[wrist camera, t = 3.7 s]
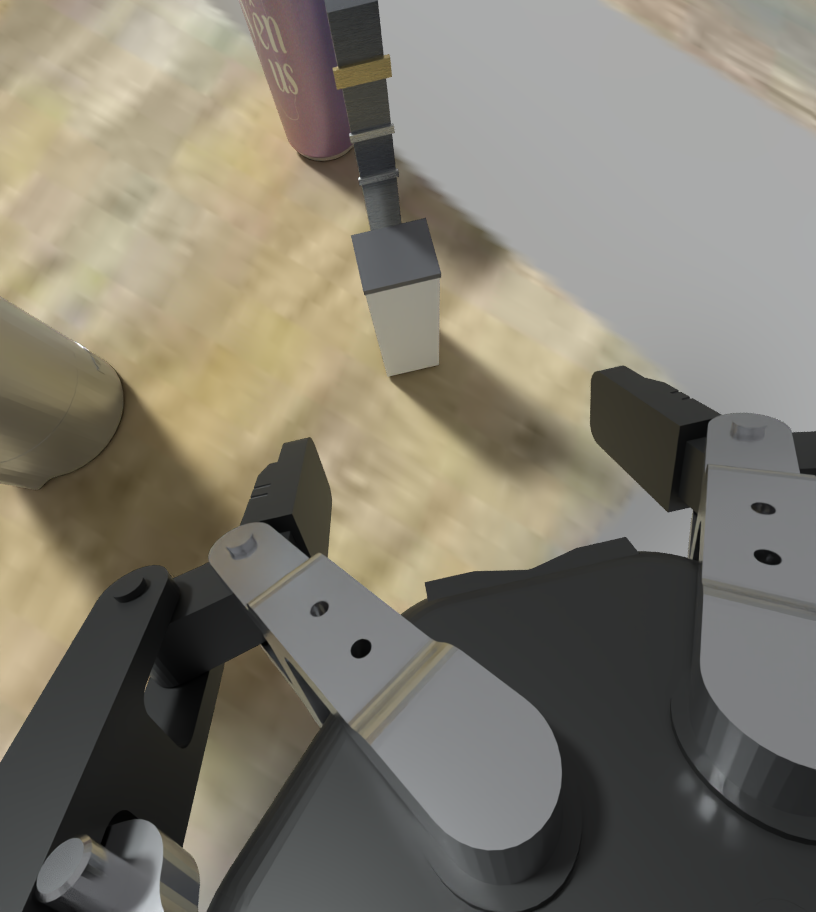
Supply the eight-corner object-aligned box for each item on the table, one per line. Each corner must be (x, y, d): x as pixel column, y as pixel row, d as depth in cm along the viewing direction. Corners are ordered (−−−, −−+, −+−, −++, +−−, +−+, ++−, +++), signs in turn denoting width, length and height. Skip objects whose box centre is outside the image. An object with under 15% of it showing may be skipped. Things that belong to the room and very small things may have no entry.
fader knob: (440, 365, 28) (441, 273, 19) (386, 377, 28) (363, 291, 19) (429, 324, 29) (425, 217, 20) (377, 336, 29) (351, 235, 20)
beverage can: (378, 123, 34) (333, -205, 19) (334, 176, 33) (253, -128, 18) (318, 95, 35) (234, -234, 21) (274, 146, 34) (153, -162, 20)
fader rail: (422, 318, 30) (404, 10, 13) (380, 328, 30) (308, 34, 13) (416, 294, 30) (391, -33, 14) (374, 304, 30) (299, -10, 14)
